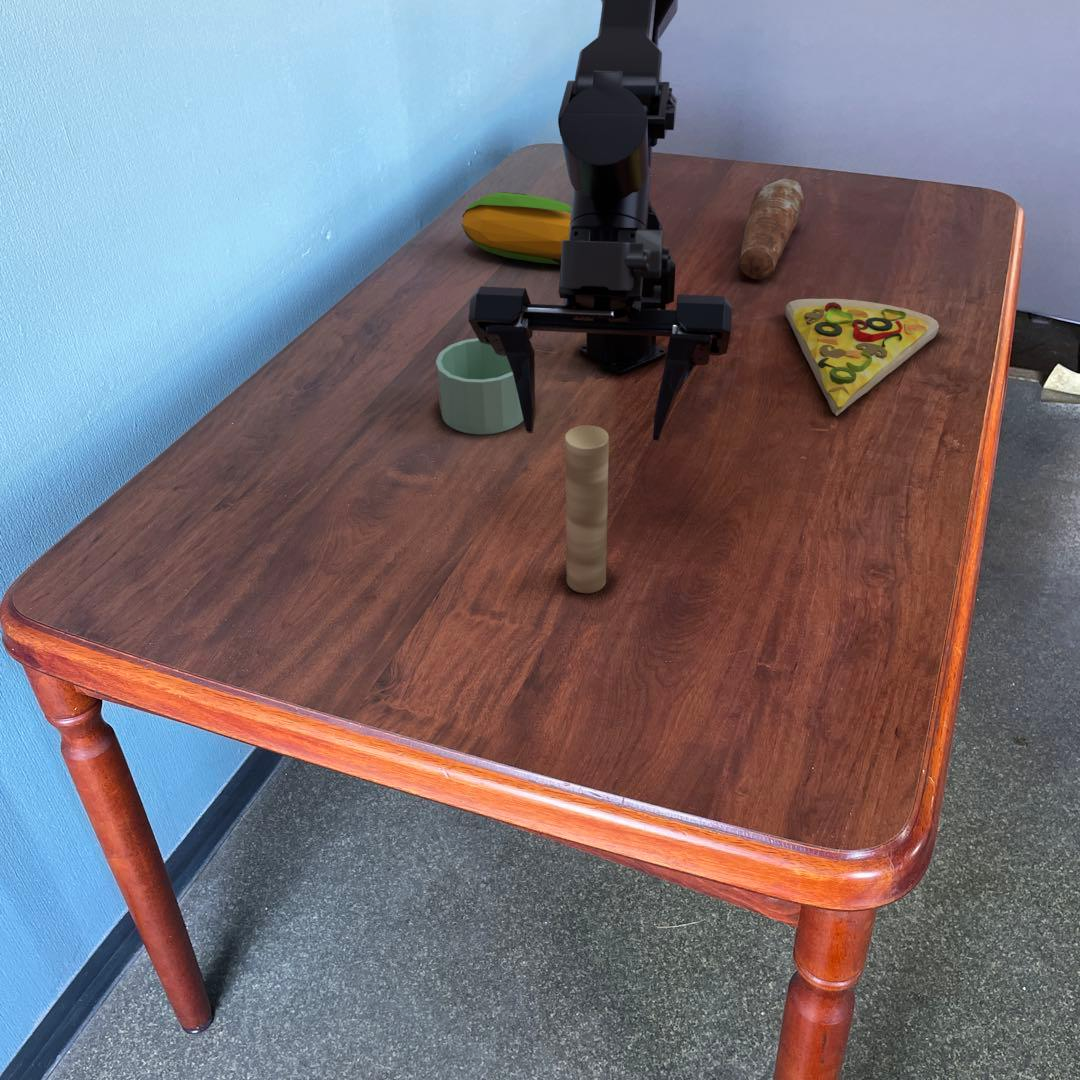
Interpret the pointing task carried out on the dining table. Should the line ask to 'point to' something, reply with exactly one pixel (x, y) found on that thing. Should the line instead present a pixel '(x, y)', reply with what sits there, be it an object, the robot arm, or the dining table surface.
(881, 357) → the pizza slice
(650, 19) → the robot arm
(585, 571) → the dowel
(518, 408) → the cup
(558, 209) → the corn
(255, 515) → the dining table surface
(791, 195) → the bread
